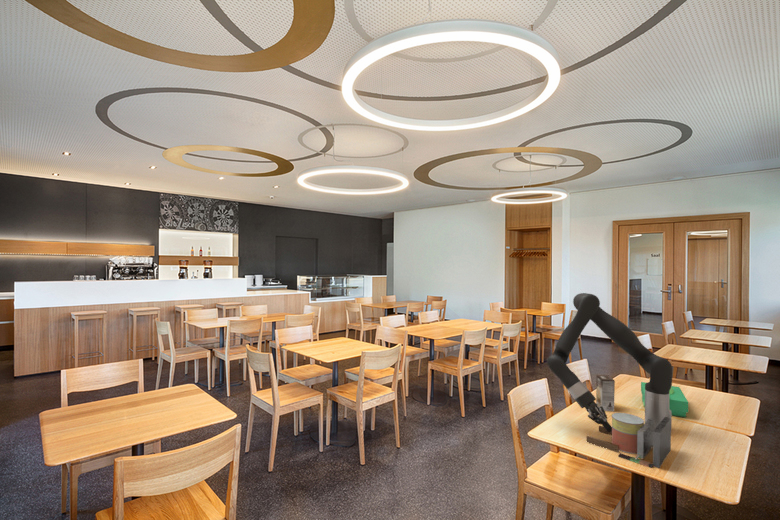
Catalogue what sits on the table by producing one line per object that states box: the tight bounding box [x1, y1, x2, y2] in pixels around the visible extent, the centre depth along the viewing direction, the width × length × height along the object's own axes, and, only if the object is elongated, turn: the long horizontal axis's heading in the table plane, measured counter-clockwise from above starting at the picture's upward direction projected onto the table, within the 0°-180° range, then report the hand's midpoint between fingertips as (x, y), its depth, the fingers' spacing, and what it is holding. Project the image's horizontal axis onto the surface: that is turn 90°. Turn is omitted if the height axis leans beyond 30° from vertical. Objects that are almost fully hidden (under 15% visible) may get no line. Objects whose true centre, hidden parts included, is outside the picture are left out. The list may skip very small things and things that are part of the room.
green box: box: [640, 381, 689, 418], centre depth 200 cm, size 18×12×35 cm
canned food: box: [611, 412, 645, 455], centre depth 157 cm, size 11×11×12 cm
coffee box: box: [595, 374, 616, 412], centre depth 201 cm, size 9×6×16 cm
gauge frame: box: [586, 417, 672, 469], centre depth 157 cm, size 26×22×13 cm
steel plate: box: [634, 419, 655, 460], centre depth 152 cm, size 2×21×10 cm, turn 134°
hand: (611, 431), depth 162 cm, fingers closed
